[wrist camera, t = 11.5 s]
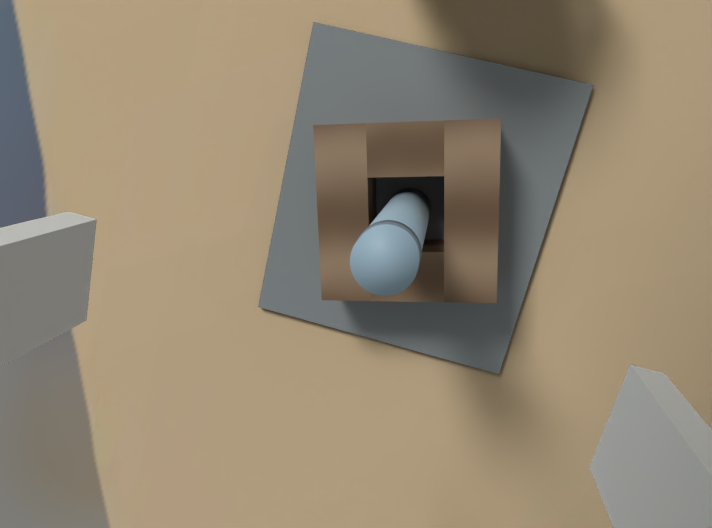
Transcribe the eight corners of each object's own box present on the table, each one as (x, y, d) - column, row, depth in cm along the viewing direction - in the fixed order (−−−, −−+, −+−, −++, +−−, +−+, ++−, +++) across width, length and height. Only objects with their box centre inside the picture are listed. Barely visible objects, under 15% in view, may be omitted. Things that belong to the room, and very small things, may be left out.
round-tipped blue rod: (394, 182, 38) (357, 219, 23) (436, 192, 38) (427, 238, 23) (384, 223, 39) (341, 286, 24) (425, 234, 39) (409, 305, 23)
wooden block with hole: (327, 125, 38) (313, 125, 34) (495, 119, 36) (501, 118, 32) (333, 283, 41) (321, 300, 37) (492, 285, 39) (496, 303, 35)
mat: (314, 23, 37) (313, 22, 37) (591, 85, 35) (593, 85, 35) (259, 305, 42) (258, 306, 42) (498, 372, 40) (498, 374, 40)
